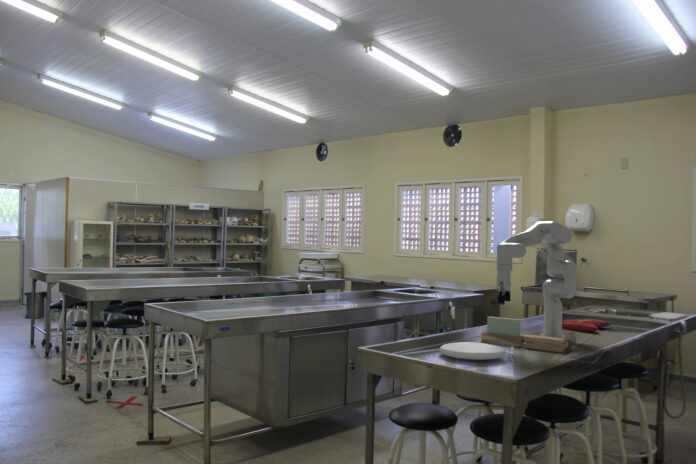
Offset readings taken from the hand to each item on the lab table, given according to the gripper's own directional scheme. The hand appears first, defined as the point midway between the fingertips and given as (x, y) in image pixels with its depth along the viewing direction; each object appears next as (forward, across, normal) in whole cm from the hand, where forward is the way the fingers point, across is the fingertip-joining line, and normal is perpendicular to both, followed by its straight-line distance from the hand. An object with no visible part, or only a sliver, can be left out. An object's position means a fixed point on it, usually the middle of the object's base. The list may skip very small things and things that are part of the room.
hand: (504, 302), depth 266 cm
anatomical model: (+23, -85, +21) cm, 91 cm away
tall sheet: (+20, 0, 0) cm, 20 cm away
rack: (+21, +1, +21) cm, 30 cm away
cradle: (+21, +1, 0) cm, 21 cm away
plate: (+21, +40, -2) cm, 45 cm away
